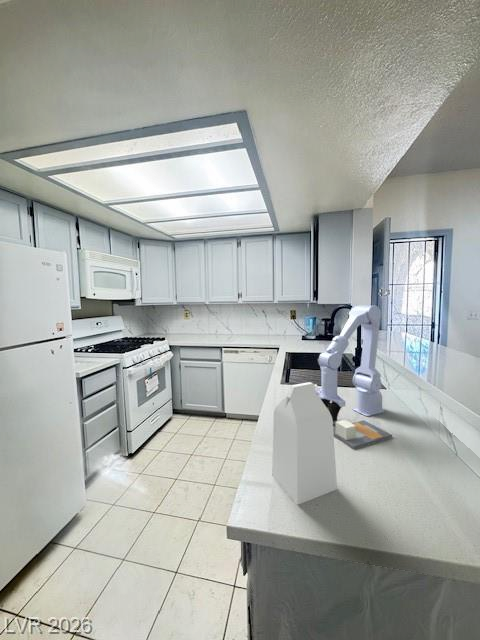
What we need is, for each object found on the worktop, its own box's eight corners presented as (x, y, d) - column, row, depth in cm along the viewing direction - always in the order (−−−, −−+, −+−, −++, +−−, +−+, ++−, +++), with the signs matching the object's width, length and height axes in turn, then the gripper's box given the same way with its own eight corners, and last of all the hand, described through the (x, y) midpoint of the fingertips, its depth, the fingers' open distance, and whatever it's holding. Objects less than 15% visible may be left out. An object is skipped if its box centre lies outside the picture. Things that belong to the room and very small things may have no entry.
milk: (297, 505, 62) (295, 395, 60) (272, 475, 72) (270, 381, 71) (337, 489, 67) (337, 387, 65) (308, 463, 77) (307, 375, 75)
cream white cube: (344, 430, 93) (344, 419, 93) (355, 437, 89) (355, 425, 88) (335, 433, 92) (335, 421, 91) (346, 440, 87) (346, 428, 87)
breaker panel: (363, 422, 101) (363, 420, 101) (392, 437, 90) (392, 434, 90) (327, 432, 95) (327, 429, 95) (353, 449, 84) (353, 446, 84)
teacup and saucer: (326, 392, 135) (326, 384, 135) (319, 397, 129) (319, 389, 129) (310, 389, 141) (310, 381, 141) (303, 393, 135) (303, 385, 135)
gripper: (308, 380, 107) (309, 413, 108) (334, 391, 93) (334, 428, 94) (323, 377, 109) (323, 409, 110) (349, 388, 96) (349, 424, 97)
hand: (329, 418), depth 102 cm, fingers closed on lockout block, 4 cm apart
